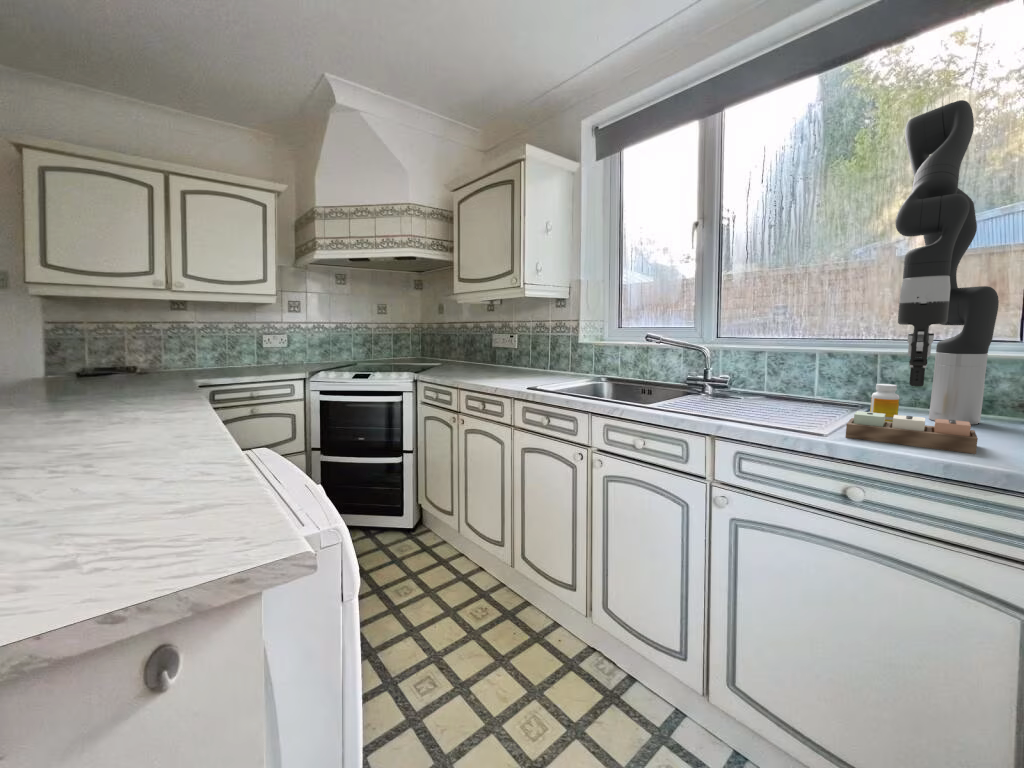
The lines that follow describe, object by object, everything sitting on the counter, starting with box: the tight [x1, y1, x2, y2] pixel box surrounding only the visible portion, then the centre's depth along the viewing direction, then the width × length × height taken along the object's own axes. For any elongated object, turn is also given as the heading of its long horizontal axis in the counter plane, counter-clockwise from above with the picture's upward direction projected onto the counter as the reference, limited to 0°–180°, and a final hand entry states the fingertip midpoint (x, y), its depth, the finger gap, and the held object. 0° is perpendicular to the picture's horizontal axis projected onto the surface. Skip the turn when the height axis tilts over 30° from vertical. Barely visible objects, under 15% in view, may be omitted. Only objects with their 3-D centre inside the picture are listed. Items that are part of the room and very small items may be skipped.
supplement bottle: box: [869, 383, 900, 422], centre depth 113 cm, size 5×5×10 cm
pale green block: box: [853, 410, 885, 427], centre depth 100 cm, size 5×5×4 cm
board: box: [845, 417, 979, 455], centre depth 96 cm, size 20×9×3 cm, turn 48°
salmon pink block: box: [933, 419, 972, 436], centre depth 91 cm, size 5×5×4 cm
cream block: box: [892, 414, 926, 431], centre depth 96 cm, size 5×5×4 cm
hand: (916, 385), depth 94 cm, fingers closed
